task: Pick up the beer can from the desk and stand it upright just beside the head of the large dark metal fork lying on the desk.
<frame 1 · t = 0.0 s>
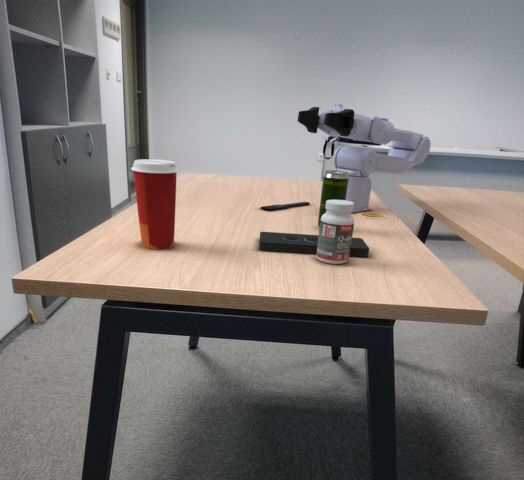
hand: (312, 117, 105), 22 cm above the table, tool horizontal, fingers open, 7 cm apart
beer can: (329, 230, 105), on the table
pill bottle: (331, 260, 83), on the table
paper cup: (157, 246, 84), on the table
smart home device: (311, 249, 89), on the table
fork: (285, 207, 124), on the table
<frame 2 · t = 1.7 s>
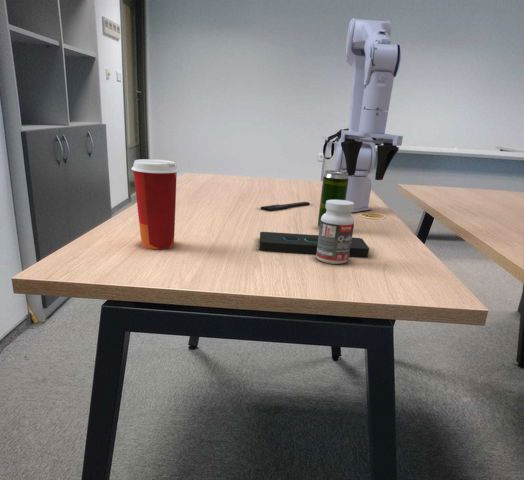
hand: (364, 177, 107), 10 cm above the table, tool pointing down, fingers open, 7 cm apart
nothing on the table moved.
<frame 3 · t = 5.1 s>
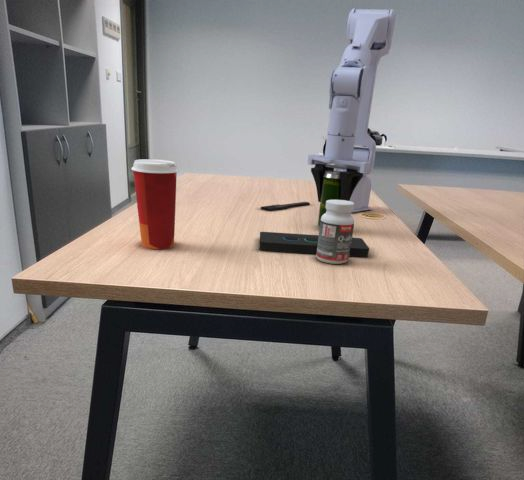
hand: (332, 204, 102), 5 cm above the table, tool pointing down, fingers closed on beer can, 5 cm apart
beer can: (329, 230, 105), on the table, touching gripper
everything else where it was.
when the fingers open (5 cm above the table, at t = 11.2 s): beer can stays where it is, on the table.
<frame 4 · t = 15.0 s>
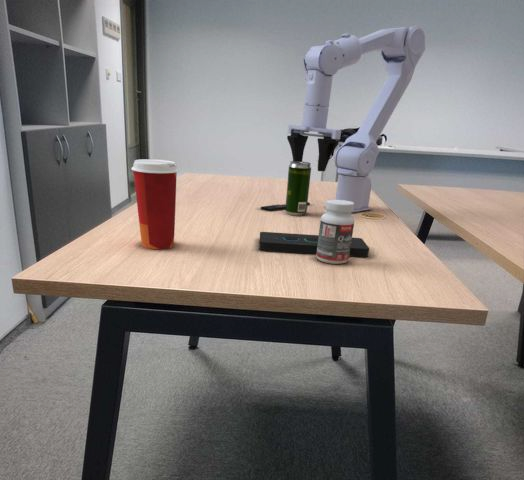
hand: (309, 168, 115), 10 cm above the table, tool pointing down, fingers open, 7 cm apart
beer can: (295, 214, 117), on the table
everything else where it was.
at the end: beer can inside the target area on the table beside the fork (0.5 cm from its centre), on the table; beer can tilted 0°; the gripper is holding nothing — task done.
